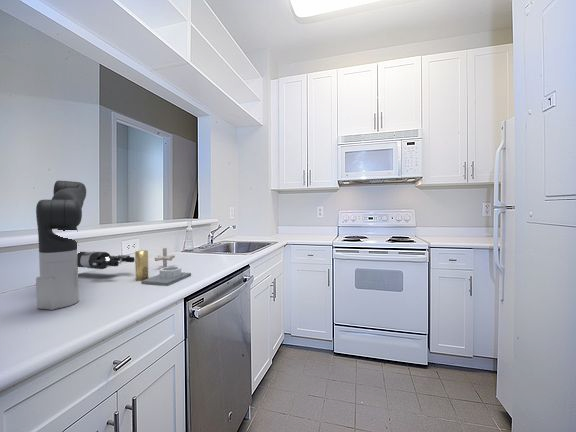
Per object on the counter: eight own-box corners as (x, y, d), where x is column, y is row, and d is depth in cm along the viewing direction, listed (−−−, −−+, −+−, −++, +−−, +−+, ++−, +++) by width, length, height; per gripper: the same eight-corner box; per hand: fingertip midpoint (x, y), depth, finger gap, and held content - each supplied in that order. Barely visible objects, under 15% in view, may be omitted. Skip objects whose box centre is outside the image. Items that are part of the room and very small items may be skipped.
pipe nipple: (142, 281, 112) (142, 252, 112) (133, 280, 113) (132, 252, 113) (151, 278, 117) (150, 250, 116) (141, 277, 118) (141, 250, 117)
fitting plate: (167, 285, 105) (167, 275, 105) (141, 283, 108) (141, 273, 108) (191, 275, 121) (190, 266, 121) (167, 274, 124) (167, 265, 123)
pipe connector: (179, 266, 138) (179, 247, 138) (161, 270, 130) (161, 250, 129) (168, 264, 143) (167, 246, 143) (149, 268, 135) (149, 248, 135)
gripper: (80, 254, 113) (111, 256, 109) (109, 249, 127) (138, 250, 123) (80, 272, 113) (112, 274, 110) (109, 265, 127) (139, 266, 124)
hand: (126, 261), depth 117 cm, fingers open, 8 cm apart
